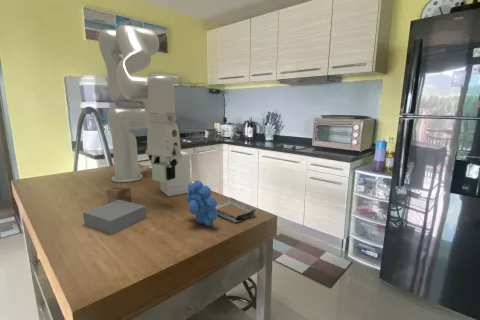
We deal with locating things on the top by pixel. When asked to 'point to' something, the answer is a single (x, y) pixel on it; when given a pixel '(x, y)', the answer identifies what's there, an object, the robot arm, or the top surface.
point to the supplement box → (178, 177)
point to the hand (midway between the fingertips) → (164, 176)
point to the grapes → (201, 203)
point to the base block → (114, 216)
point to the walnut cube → (119, 194)
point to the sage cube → (160, 172)
